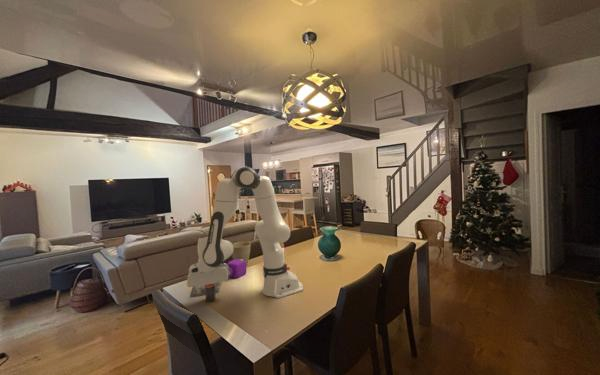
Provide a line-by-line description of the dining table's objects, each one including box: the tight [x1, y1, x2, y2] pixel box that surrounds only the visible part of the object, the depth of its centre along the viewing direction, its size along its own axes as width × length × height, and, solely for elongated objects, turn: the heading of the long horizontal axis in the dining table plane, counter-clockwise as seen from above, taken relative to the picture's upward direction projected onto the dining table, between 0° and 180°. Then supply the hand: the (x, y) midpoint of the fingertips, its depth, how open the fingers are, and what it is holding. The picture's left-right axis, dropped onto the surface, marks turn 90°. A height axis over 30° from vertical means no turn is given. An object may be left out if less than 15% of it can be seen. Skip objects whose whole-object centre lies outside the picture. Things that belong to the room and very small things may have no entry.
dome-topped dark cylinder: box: [204, 283, 216, 303], centre depth 128 cm, size 5×5×8 cm
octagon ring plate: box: [191, 282, 220, 298], centre depth 141 cm, size 14×14×4 cm
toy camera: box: [226, 259, 247, 279], centre depth 158 cm, size 11×14×10 cm
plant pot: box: [231, 241, 252, 267], centre depth 176 cm, size 15×15×16 cm
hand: (208, 291), depth 128 cm, fingers open, 8 cm apart
